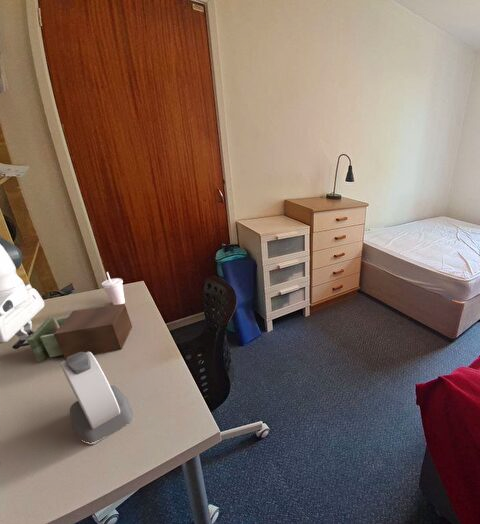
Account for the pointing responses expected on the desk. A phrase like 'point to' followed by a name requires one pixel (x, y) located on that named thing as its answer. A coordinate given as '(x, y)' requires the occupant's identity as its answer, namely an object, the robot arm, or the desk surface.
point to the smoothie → (114, 290)
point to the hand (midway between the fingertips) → (27, 337)
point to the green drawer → (43, 340)
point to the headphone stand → (94, 399)
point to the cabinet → (94, 330)
